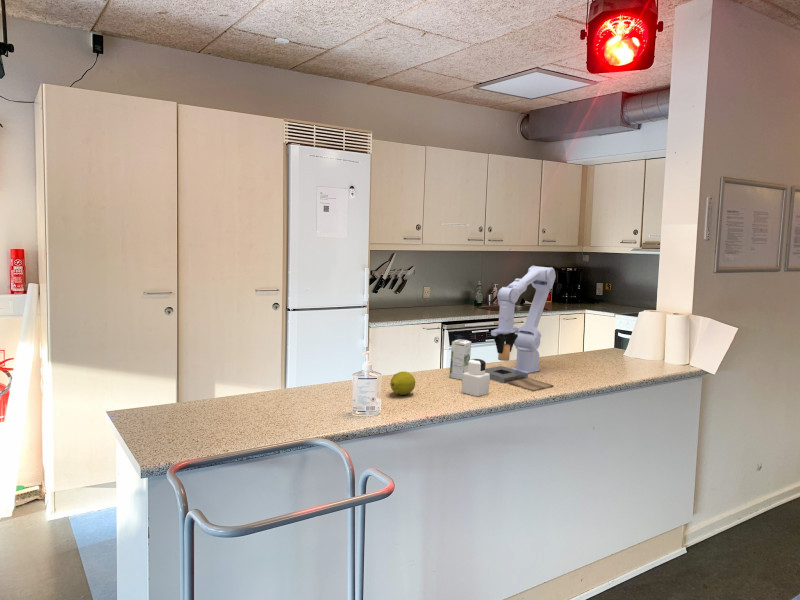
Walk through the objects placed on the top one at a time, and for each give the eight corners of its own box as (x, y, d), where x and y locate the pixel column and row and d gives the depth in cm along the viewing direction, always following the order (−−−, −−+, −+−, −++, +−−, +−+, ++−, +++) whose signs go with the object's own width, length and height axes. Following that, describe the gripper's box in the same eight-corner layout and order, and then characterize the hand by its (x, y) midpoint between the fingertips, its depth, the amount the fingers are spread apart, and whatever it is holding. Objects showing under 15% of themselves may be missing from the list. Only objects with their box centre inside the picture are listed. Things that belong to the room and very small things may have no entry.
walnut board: (528, 379, 238) (528, 377, 238) (553, 386, 229) (553, 385, 229) (507, 383, 231) (508, 382, 231) (533, 391, 222) (533, 389, 221)
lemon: (405, 389, 217) (406, 367, 216) (420, 394, 211) (421, 372, 210) (382, 394, 210) (383, 371, 209) (397, 400, 204) (398, 376, 203)
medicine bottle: (472, 388, 221) (474, 356, 220) (489, 393, 217) (491, 360, 215) (461, 392, 216) (463, 359, 214) (478, 397, 212) (480, 363, 210)
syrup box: (455, 374, 240) (457, 338, 238) (469, 377, 237) (471, 340, 236) (449, 377, 236) (451, 340, 234) (463, 380, 233) (465, 343, 231)
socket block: (500, 370, 250) (501, 365, 250) (527, 378, 240) (528, 373, 239) (477, 375, 241) (477, 370, 241) (504, 383, 231) (504, 378, 231)
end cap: (503, 357, 243) (504, 343, 242) (511, 360, 239) (512, 345, 239) (495, 359, 240) (496, 344, 239) (504, 361, 237) (505, 346, 236)
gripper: (501, 321, 230) (499, 356, 232) (526, 318, 239) (524, 352, 241) (487, 318, 235) (485, 352, 237) (512, 315, 244) (510, 348, 246)
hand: (504, 352), depth 239 cm, fingers closed on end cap, 4 cm apart
